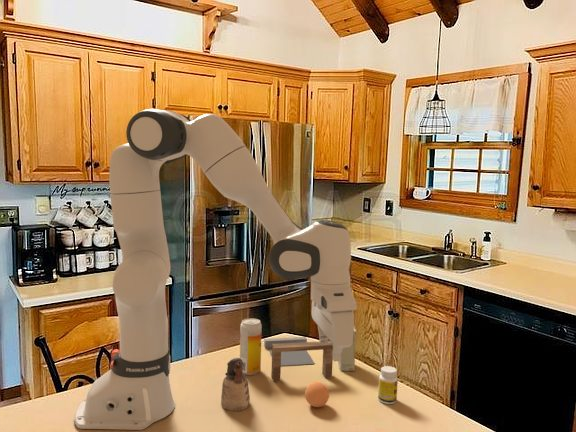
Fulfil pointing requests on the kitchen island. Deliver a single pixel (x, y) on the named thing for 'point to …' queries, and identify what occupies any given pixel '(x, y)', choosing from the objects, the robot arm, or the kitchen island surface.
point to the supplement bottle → (388, 385)
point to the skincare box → (348, 356)
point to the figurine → (235, 387)
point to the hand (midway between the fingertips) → (329, 351)
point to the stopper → (283, 341)
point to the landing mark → (295, 358)
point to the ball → (317, 394)
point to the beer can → (250, 346)
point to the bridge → (301, 347)
